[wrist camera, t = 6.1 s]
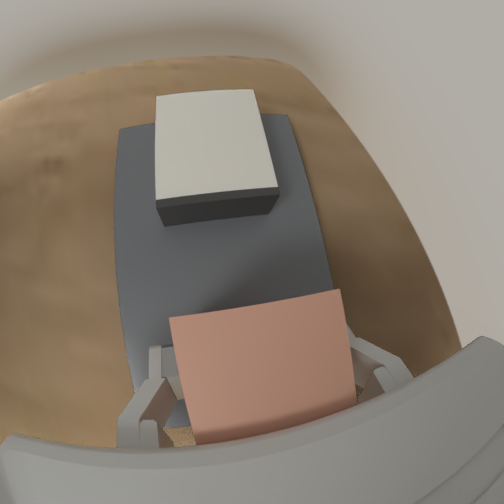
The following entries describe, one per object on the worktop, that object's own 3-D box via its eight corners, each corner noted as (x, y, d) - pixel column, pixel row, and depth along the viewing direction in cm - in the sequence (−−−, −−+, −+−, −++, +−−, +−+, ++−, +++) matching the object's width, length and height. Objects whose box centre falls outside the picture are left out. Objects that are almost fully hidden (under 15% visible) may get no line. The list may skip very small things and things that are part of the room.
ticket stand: (149, 421, 15) (133, 448, 11) (123, 139, 20) (110, 104, 15) (339, 384, 18) (373, 398, 13) (283, 125, 22) (297, 90, 18)
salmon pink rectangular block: (202, 382, 15) (197, 448, 6) (190, 317, 16) (168, 317, 7) (283, 367, 16) (357, 408, 7) (272, 304, 16) (340, 288, 8)
